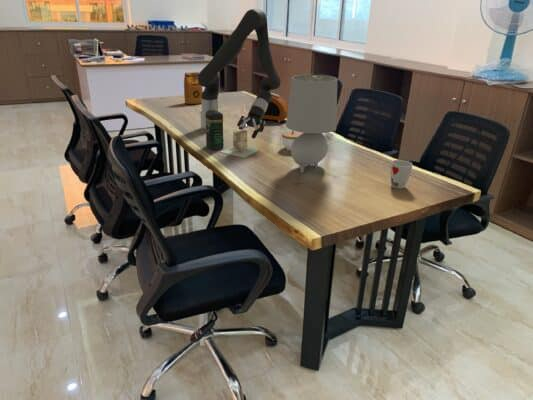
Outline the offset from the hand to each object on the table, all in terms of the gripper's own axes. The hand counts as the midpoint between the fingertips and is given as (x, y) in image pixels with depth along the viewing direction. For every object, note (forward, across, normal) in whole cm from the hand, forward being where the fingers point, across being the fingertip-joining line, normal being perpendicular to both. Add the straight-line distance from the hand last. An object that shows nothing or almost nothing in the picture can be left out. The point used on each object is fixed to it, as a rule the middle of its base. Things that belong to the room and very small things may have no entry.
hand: (245, 136), depth 208 cm
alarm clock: (-37, -21, +46) cm, 63 cm away
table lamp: (+10, +38, 0) cm, 39 cm away
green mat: (+8, 0, +1) cm, 8 cm away
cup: (+7, +78, +2) cm, 79 cm away
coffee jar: (+10, -14, 0) cm, 17 cm away
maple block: (+8, 0, +1) cm, 8 cm away
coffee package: (-41, -89, +51) cm, 111 cm away
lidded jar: (-5, +19, +15) cm, 25 cm away
